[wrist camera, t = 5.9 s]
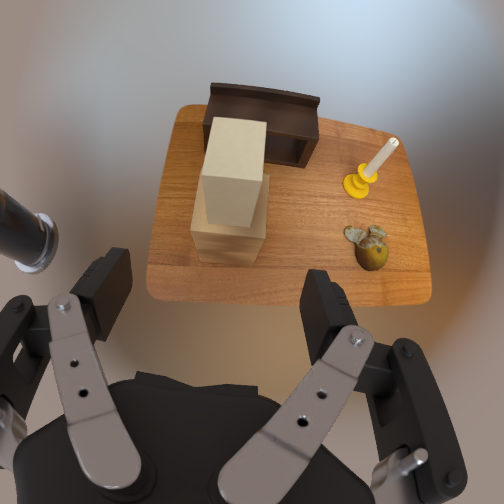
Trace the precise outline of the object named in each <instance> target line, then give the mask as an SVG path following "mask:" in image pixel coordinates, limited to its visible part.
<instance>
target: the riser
mask: <svg viewBox="0 0 504 504" xmlns="http://www.w3.org/2000/svg"><path fill="white" fill-rule="evenodd" d="M202 171H203V167H201V172H200V177H199V182H198V188H197V193H196V199H195V204H194V210H193V216H192V222H191V228H190V231H191V234H192V237H193V241H194V244H195V247H196V250H197V253H198V256H199V259H200V261H201V262H210V263H219V264H228V265H238V266H248V267H252V266H253V264H254V262H255V260H256V258H257V256H258V253H259V251H260V249H261V247H262V245H263V243H264V240H265V238H266V224H267V209H268V194H269V179H270V174H265V173H263V178H262V184H261V188H260V191H259V195H258V199H257V203H256V206H255V210H254V214H253V218H252V221H251V225H250V228H248V227H239V226H229V225H220V224H210V223H208V221H207V214H206V206H205V198H204V190H203V181H202Z"/></svg>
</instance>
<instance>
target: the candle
mask: <svg viewBox="0 0 504 504" xmlns="http://www.w3.org/2000/svg"><path fill="white" fill-rule="evenodd" d="M398 144H399V142H398V140H397V139H396V138H391V139H390V140H389V141H388V142H387V143H386V144H385V145H384V146H383V148H382V149H381V150H380V151H379V152H378V154H377V155H376V156H375V157H374V158H373V160H372V161H371V162H370V163H369V164H366V163H363V164H360V165H359V167H358V173H357V174H349V175H347V176H346V177H345V179H344V181H343V186H344V189H345V191H346V192H347V194H348V195H350V196H351V197H353V198H355V199H363V198H364V197H366V196H367V194H368V191H369V188H368V183H373V182H375V181H376V180H377V172H376V170H377V169H378V168H379V167H380V166H381V165H382V164H383V163H384V161H385V160H386V159H387V158H388V157H389V156H390V154H391V153H392V152H393V151H394V150H395V148H396V147H397V146H398Z"/></svg>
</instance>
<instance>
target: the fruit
mask: <svg viewBox="0 0 504 504" xmlns="http://www.w3.org/2000/svg"><path fill="white" fill-rule="evenodd" d="M369 229H370V230H371V234H370V236H369V237H367V236H366V232H365V231H363V230H361V229H355V228H353V227H352V226H348V227H347V228H346V229H345V231H344V233H345V236H346V237H347V239H348V240H349V241H352V242H355V243H356V244H357V249H356V250H357V251H356V257H357V260H358V262H359V264H360V265H361V266H362V267H363V268H364V269H366V270H368V271H374V270H378V269H380V268H381V267H383V266H384V265H385V263H386V261H387V258H388V246H387V245H386V244H385V243H384V242H383V241H381V239H382V237H384V236H385V237H387V234H386V232H385V231H384V230H383V229H382V228H380V227H379V226H376V225H371V226H370V227H369Z"/></svg>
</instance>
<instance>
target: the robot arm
mask: <svg viewBox="0 0 504 504" xmlns="http://www.w3.org/2000/svg"><path fill="white" fill-rule="evenodd" d="M37 216H38V217H37ZM37 216H35V215H34V214H33V213H32V212H30V211H29V210H27V209H26V208H25V207H24V206H22V205H21V204H20V203H18V202H17V201H16V200H14V199H13V198H12V197H11V196H9V195H8V194H7V193H6V192H4V191H3V190H2V189H0V254H2V255H4V256H6V257H9V258H11V259H13V260H15V261H17V262H20V263H21V264H23V265H25V266H33V265H35V264H37V263H38V262H39V261H40V260H41V259H42V258H43V257H44V255H45V253H46V251H47V249H48V246H49V241H50V232H49V228H48V225H47V224H46V223H45V222H44V221H43V220H42V219H41V218H40V216H39V215H38V214H37ZM131 288H132V270H131V261H130V253H129V250H128V249H123V248H114V247H113V248H111V249H110V250H109V252H108V253H107V254H106V256H105V257H100V258H99V259H97V260H95V261H94V262H93V263H92V264H91V265H90V266H89V268H88V269H87V270H86V271H85V273H84V274H83V276H81V278H80V279H79V280H78V282H77V283H76V284H75V286H74V287H73V288H72V290H71V291H70V292H69V293H64V294H60V295H57V296H56V297H54V298H53V299H52V300H51V301H50V302H49V304H48V305H45V306H34V305H33V303H32V300H31V298H30V297H28V296H26V295H19V296H16V297H14V298H12V299H11V300H10V301H9V302H8V303H7V304H6V306H5V307H4V308H3V309H2V311H1V312H0V469H7V470H8V471H10V472H12V473H14V478H15V483H16V491H17V504H442V503H444V502H446V501H448V500H450V499H453V498H455V497H457V496H458V495H460V494H461V493H462V492H463V490H464V489H465V487H466V484H467V479H468V478H467V471H466V467H465V463H464V460H463V456H462V453H461V450H460V447H459V443H458V440H457V437H456V434H455V431H454V428H453V425H452V422H451V420H450V417H449V414H448V411H447V409H446V406H445V403H444V401H443V398H442V396H441V393H440V390H439V388H438V386H437V383H436V381H435V378H434V376H433V374H432V371H431V369H430V367H429V365H428V362H427V360H426V358H425V356H424V354H423V351H422V349H421V348H420V346H419V345H418V344H417V343H415V342H414V341H412V340H410V339H406V338H400V339H397V340H396V341H395V342H394V344H393V345H392V346H389V345H384V344H381V343H376V342H374V339H373V336H372V335H371V334H370V333H369V332H368V331H367V330H366V329H364V328H362V327H360V326H358V323H357V321H356V319H355V316H354V314H353V311H352V309H351V307H350V306H349V302H348V300H347V299H346V298H347V297H346V295H345V293H344V291H343V289H342V288H341V287H340V286H339V285H338V284H337V283H336V282H331V281H330V278H329V276H328V274H327V271H325V270H315V269H309V270H308V272H307V276H306V279H305V283H304V287H303V290H302V294H301V297H300V313H301V318H302V322H303V327H304V332H305V337H306V341H307V346H308V350H309V356H310V361H311V365H312V366H313V367H312V368H311V369H310V371H309V372H308V373H307V375H306V376H305V377H304V378H303V380H302V381H301V382H300V384H299V385H298V386H297V387H296V389H295V390H294V391H293V393H292V394H291V395H290V396H289V398H288V399H287V400H286V401H285V403H284V404H283V405H280V404H279V403H277V402H276V401H273V400H271V399H269V398H267V397H264V396H261V395H258V386H247V385H233V384H223V385H214V386H205V387H193V386H189V385H187V384H184V383H181V382H179V381H176V380H174V379H171V378H168V377H166V376H160V375H155V374H150V373H144V372H139V371H137V373H136V375H135V379H130V380H123V381H119V382H116V383H113V384H111V385H109V384H108V382H107V379H106V377H105V374H104V372H103V369H102V366H101V364H100V361H99V358H98V356H97V353H96V350H95V347H94V343H95V341H96V340H100V341H104V342H105V341H106V340H107V337H108V335H109V333H110V331H111V329H112V327H113V325H114V323H115V321H116V319H117V317H118V315H119V313H120V311H121V309H122V307H123V305H124V303H125V301H126V299H127V297H128V295H129V293H130V291H131ZM19 343H21V345H22V346H23V347H22V349H21V351H20V353H19V355H18V356H17V358H16V360H15V362H14V363H13V354H14V352H15V350H16V348H17V346H18V344H19ZM50 359H52V365H53V370H54V375H55V379H56V383H57V387H58V391H59V395H60V399H61V403H62V406H63V409H64V414H63V415H61V416H60V417H58V418H57V419H55V420H53V421H52V422H50V423H49V424H47V425H45V426H44V427H42V428H40V429H39V430H37V431H36V432H34V433H32V434H31V435H29V436H28V435H27V426H26V423H25V419H26V416H27V414H28V411H29V408H30V405H31V403H32V400H33V398H34V395H35V393H36V390H37V388H38V385H39V383H40V380H41V378H42V376H43V374H44V372H45V369H46V367H47V365H48V363H49V361H50ZM352 391H357V392H362V393H365V394H366V398H367V402H368V407H369V411H370V416H371V420H372V425H373V430H374V435H375V440H376V444H377V450H378V454H379V460H380V462H379V463H378V464H377V465H376V467H375V468H374V470H373V472H372V482H371V486H370V488H369V486H368V485H367V484H366V483H365V482H364V481H363V480H362V479H360V478H359V477H358V476H357V475H356V474H354V472H352V471H351V470H350V469H349V468H348V467H347V466H346V465H344V464H343V463H342V462H341V461H340V460H339V459H338V458H337V457H336V456H334V455H333V454H332V453H331V452H330V451H329V450H328V449H327V448H326V447H325V446H324V445H322V442H323V440H324V439H325V437H326V435H327V434H328V432H329V431H330V429H331V428H332V426H333V424H334V423H335V421H336V419H337V418H338V416H339V414H340V412H341V411H342V409H343V407H344V406H345V404H346V402H347V400H348V398H349V397H350V395H351V393H352Z"/></svg>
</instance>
